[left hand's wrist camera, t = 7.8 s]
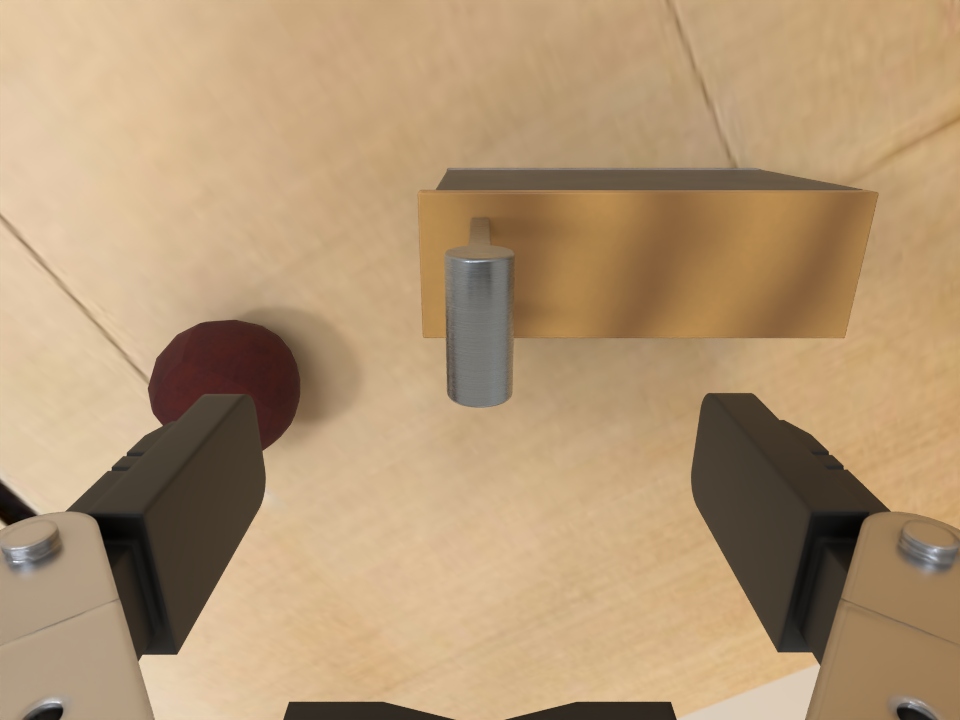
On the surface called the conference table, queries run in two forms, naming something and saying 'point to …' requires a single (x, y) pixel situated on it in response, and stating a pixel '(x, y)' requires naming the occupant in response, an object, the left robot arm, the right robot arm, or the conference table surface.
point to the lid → (631, 269)
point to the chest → (626, 179)
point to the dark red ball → (228, 373)
